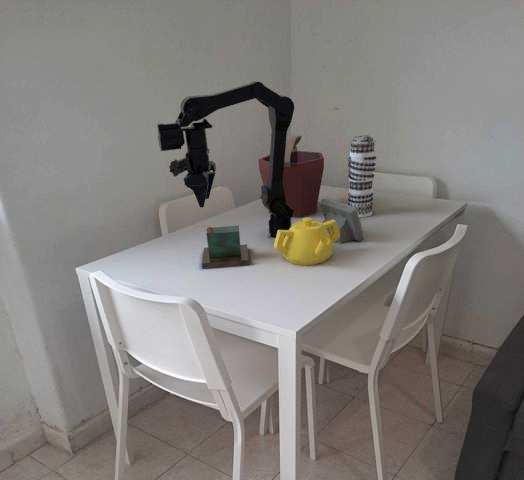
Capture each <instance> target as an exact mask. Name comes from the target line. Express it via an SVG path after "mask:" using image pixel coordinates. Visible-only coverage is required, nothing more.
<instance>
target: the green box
mask: <svg viewBox="0 0 524 480" xmlns="http://www.w3.org/2000/svg"><path fill="white" fill-rule="evenodd" d="M240 235H241V234H240V226H239V224H238V225H227V226H226V225H225V226H214V227H212V226H207V227H206V241H207V247H208V250H209V258H216V257H228V256H241V246H240V245H241V236H240Z"/></svg>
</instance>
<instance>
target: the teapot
mask: <svg viewBox="0 0 524 480" xmlns="http://www.w3.org/2000/svg"><path fill="white" fill-rule="evenodd" d="M329 227H330V230H331V234H330V235H329V233H328V231H327V230H326V229H327V228H329ZM284 235H285V237H284ZM339 237H340V232H339V229H338V226H337V223H336V221H335V220H333V219H332V220H330V221H327V222H324V223H322V222H320V221H316V220H313V218H312V217H303V218H301V221H297V222H294V223H292V224H291V228H290V229H289V230H278V231H277V235H276V237H275V240H274V242H273V248H274V249H275V250H277V251H278V252H280V253H281V254H282V255H283V257H284V258H285V259H287V261H288V262H290V263H291V264H294V265H299V266H313V265H318V264H322V263H325V262H327V260H328V259H330V257H332V255H333V253H334V244H335V243H336V242H337V241H336V240H337V239H338V238H339Z"/></svg>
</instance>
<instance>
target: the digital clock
mask: <svg viewBox="0 0 524 480" xmlns="http://www.w3.org/2000/svg"><path fill="white" fill-rule="evenodd" d="M319 205H320V209H321V212H322V216H323V218H324V219H323V220H322V222H321V223H324V222H327V221H330V220H332V219H333V220H335V221H336V223H337V226H338V229H339V232H340V237H339V238H338V239H337V240H336V242H337V243H338V244H339V243H340V244H342V243H345V242H350V241H352V240H355V241H357V242H361V241H363V240H364V238H365V234H364V230H363V227H362V223H361V219H360V218H361V217H359V215H358V211H357V209H356V208H355V207H352V206H349V205H347V204H346V203H342V202H339V201H335V200H333V199H332V200H331V199H328V198H321V200H320V203H319ZM326 230H327V231H328V233H329V235H330V234H331V230H330V227H329V228H327V229H326Z"/></svg>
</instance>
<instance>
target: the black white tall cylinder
mask: <svg viewBox="0 0 524 480" xmlns="http://www.w3.org/2000/svg"><path fill="white" fill-rule="evenodd" d="M375 142H376V140H374V138H373V136H371V135H367V134H364V135H363V134H362V135H356V136H354V137H353V138H352V140H351V141H349V143H350V151H349V157H348V158H347V162H348V163H347V166H348V170H347V172H348V175H347V177H348V178H347V179H348V181H349V188H348V193H347V196H348V198H347V201H348V202H347V204H346V205H349V206H352V207H355V208H356V209H357V211H358V215H359V218H367V217H370V216H372V215H373V212H372V211H373V205H374V203H373V200H374V198H373V196H374V192H373V191H374V190H373V189H374V187H373V181H374V180H375V174H374V171H376V167H375V166H376V163H375V162H374V161H375V160H376V159H377V156H376V152H375V151H376V150H375Z"/></svg>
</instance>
